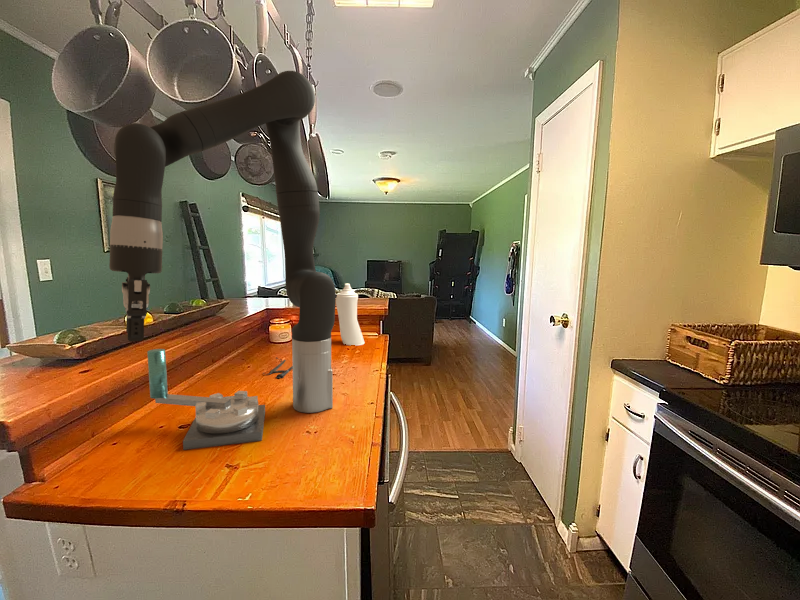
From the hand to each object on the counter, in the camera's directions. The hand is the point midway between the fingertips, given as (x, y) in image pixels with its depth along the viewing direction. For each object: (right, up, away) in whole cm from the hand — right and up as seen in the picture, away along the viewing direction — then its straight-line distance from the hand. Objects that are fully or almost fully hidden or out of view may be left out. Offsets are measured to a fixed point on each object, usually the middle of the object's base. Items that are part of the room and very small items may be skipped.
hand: (134, 336), depth 66 cm
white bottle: (+26, -12, +91) cm, 95 cm away
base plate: (+11, -21, +13) cm, 27 cm away
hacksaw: (+7, -16, +57) cm, 60 cm away
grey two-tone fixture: (+5, -19, +14) cm, 24 cm away
